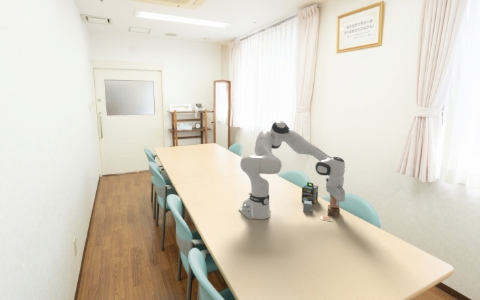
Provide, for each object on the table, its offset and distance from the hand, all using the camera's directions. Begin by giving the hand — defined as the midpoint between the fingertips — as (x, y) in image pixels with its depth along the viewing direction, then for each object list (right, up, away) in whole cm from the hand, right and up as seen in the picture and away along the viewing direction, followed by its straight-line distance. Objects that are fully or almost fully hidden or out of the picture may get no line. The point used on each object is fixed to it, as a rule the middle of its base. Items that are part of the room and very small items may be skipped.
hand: (334, 202), depth 171 cm
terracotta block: (0, -2, 0) cm, 2 cm away
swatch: (-6, -9, -5) cm, 12 cm away
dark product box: (-10, -4, +22) cm, 25 cm away
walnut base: (0, -8, +2) cm, 8 cm away
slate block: (-16, -7, +7) cm, 18 cm away
